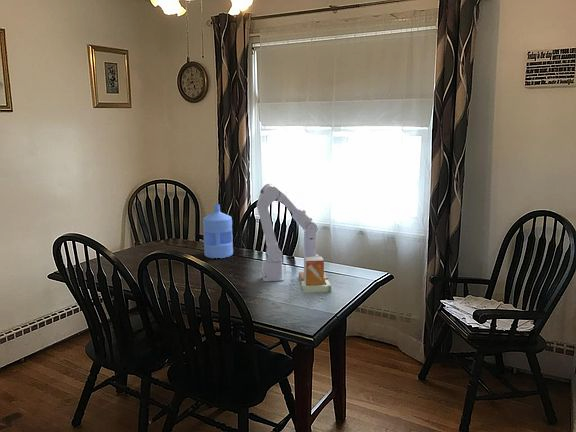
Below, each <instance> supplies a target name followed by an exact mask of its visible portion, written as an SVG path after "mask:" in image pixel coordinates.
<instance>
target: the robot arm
mask: <svg viewBox="0 0 576 432" xmlns="http://www.w3.org/2000/svg"><path fill="white" fill-rule="evenodd" d="M275 201H276V202H279V203H282V204H283V205H284V207H286V208H287V209H288V211H289V212H290V213H291V215H292V216H291V217H292V219H293V220H294V221H295V222H296V223H297V224H298V225H299V226H300V227H301V228H302V230H303V258H304V257H319V256H320V254H317V232H318V231H319V227H318V226H317V224H316V223H315V222H314V221H313V219H312V217H309V215H307V213H306V212H307V211H306V210H305V209H302V208H297V206H296V205H295V204H294V203H293V202H292V201H291V200H290V198H288V196H287V195H286V194H285V193H284V192H282V191H281V190H279V188H278V187H276V186H275V185H274V184H273V183H266V184H265V185H264V186H262V188H261V189H260V192H259V196H258V199H257V202H256V208H257V209H256V210H257V213H258V216H259V220H260V223H261V228H262V231H263V234H264V239H265V244H266V249H265V253H266V255H267V257H266V260H265V259H264V260H262V261H261V268H262V269H261V277H262V281H263V282H280V281H281V282H283V281H284V276H283V251H282V250H281V249H280V248H279V244H278V241H277V238H276V234H275V230H274V227H273V222H272V218H271V214H270V211H269V207H270V206H271V204H272V203H274V202H275Z"/></svg>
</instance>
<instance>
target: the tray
mask: <svg viewBox="0 0 576 432" xmlns="http://www.w3.org/2000/svg"><path fill="white" fill-rule="evenodd" d="M300 285H301V286H300V287H301V289H302V292H303V293H304V294H306V293H323V292H325V293H326V292H327V293H328V292H332V285H331V282H330V281H329V279H328V280H324V285H313V286H307V285H306V283H305V281H300Z"/></svg>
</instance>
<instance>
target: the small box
mask: <svg viewBox="0 0 576 432" xmlns="http://www.w3.org/2000/svg"><path fill="white" fill-rule="evenodd" d="M303 272H304V281H305V283H306V285H307V286H313V285H324V272H325V260H324V258H323V257H322V256H320V255H319V257H303Z"/></svg>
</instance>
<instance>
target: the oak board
mask: <svg viewBox="0 0 576 432" xmlns="http://www.w3.org/2000/svg"><path fill="white" fill-rule="evenodd" d="M298 278H299V280H300V282H301V281H304V271H299V272H298ZM324 280H328V281H329V277H328V276H327V274H326V272H325V271H324Z"/></svg>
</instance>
